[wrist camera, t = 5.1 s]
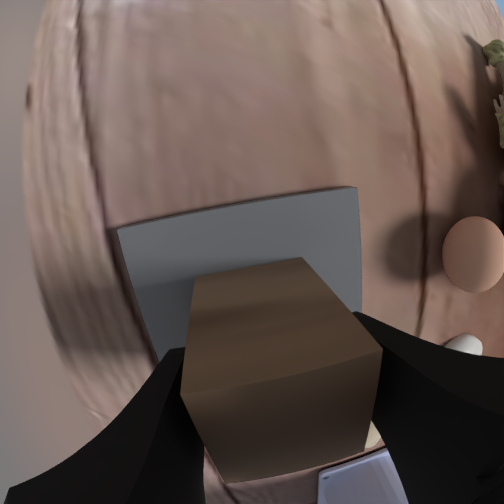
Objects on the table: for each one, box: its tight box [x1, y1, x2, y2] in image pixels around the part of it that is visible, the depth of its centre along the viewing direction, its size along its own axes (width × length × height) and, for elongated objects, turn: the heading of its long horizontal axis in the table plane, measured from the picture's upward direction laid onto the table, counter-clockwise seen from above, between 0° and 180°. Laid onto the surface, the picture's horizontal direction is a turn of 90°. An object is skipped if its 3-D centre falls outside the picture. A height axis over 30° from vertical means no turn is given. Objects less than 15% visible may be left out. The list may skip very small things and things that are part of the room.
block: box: [180, 257, 383, 484], centre depth 8 cm, size 4×4×6 cm
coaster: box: [117, 186, 362, 362], centre depth 12 cm, size 9×9×1 cm
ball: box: [442, 216, 504, 293], centre depth 11 cm, size 4×4×4 cm
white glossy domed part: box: [444, 333, 482, 355], centre depth 15 cm, size 5×5×1 cm
